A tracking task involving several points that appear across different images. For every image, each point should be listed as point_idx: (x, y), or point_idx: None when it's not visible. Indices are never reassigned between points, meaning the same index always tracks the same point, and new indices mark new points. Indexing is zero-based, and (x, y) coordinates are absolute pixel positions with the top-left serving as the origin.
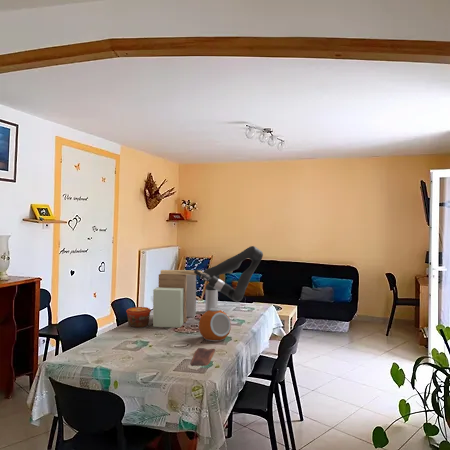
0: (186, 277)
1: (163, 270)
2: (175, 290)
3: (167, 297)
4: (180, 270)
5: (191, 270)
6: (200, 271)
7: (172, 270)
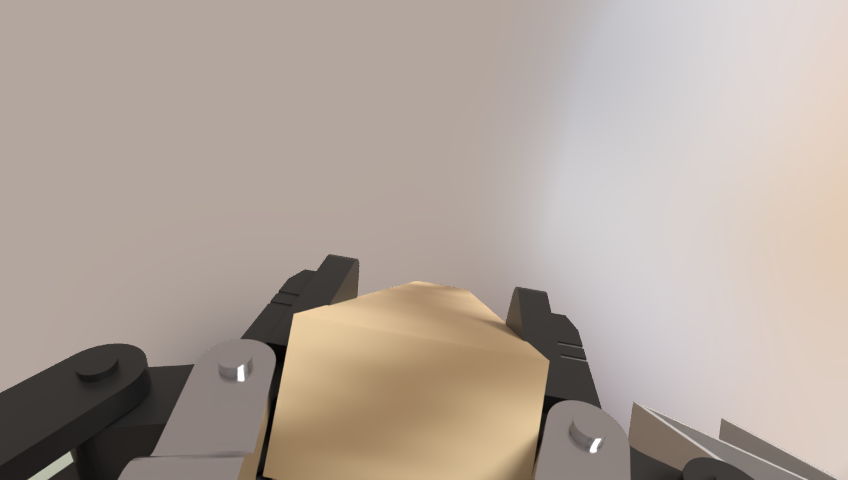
0: None
1: (423, 282)
2: (68, 453)
3: None
4: (452, 295)
5: (494, 314)
6: (304, 315)
7: (436, 288)
